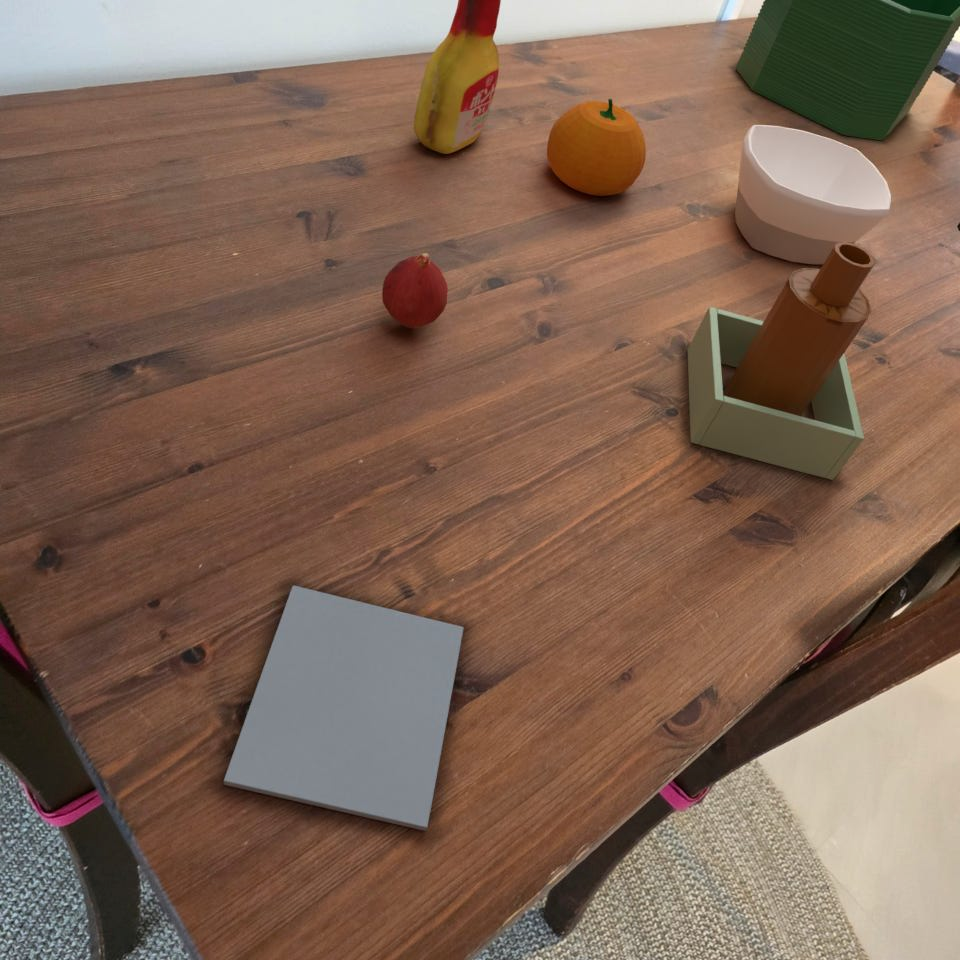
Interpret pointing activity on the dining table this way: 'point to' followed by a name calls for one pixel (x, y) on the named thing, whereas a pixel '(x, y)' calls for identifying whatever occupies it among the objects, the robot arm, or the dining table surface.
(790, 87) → the planter
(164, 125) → the dining table surface
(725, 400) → the bin
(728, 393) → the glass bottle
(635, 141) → the fruit
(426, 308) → the onion
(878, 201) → the bowl
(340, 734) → the mat
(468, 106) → the bottle
